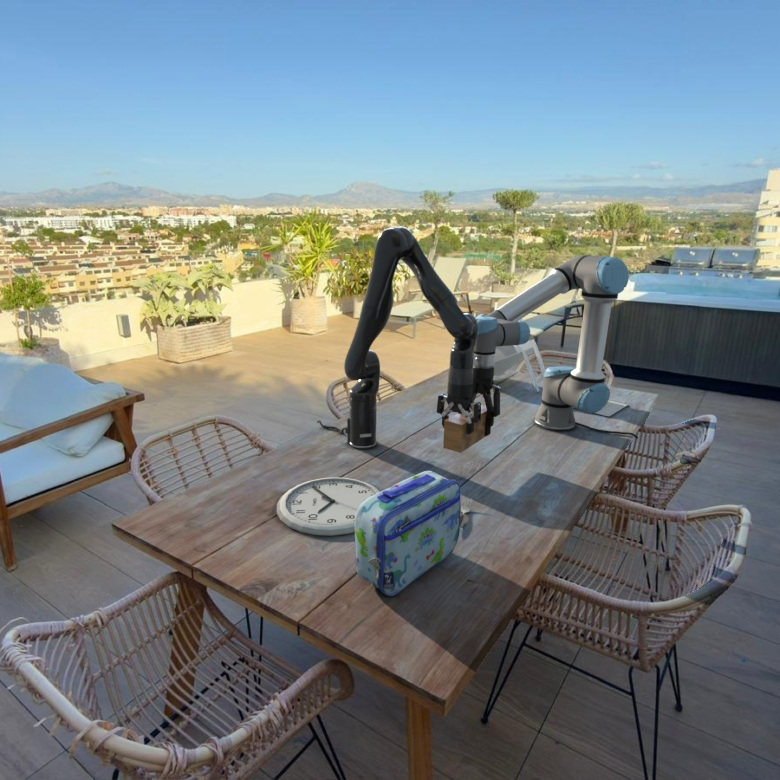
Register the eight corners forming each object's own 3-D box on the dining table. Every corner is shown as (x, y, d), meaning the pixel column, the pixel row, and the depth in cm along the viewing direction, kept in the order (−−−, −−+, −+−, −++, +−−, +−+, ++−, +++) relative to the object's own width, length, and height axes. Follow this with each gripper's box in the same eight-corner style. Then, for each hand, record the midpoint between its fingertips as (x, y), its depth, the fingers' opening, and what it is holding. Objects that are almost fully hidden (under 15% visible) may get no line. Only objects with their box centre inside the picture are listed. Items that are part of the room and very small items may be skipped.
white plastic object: (484, 420, 263) (463, 398, 239) (465, 347, 285) (445, 319, 261) (556, 396, 251) (542, 370, 226) (530, 322, 273) (515, 290, 248)
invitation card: (608, 416, 214) (573, 407, 224) (608, 416, 214) (573, 408, 224) (628, 404, 229) (594, 396, 238) (628, 405, 229) (594, 397, 238)
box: (473, 429, 179) (475, 403, 176) (490, 433, 175) (492, 407, 173) (443, 447, 164) (444, 420, 161) (460, 453, 160) (462, 424, 157)
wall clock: (392, 527, 129) (268, 531, 127) (391, 533, 130) (269, 537, 127) (383, 473, 158) (282, 475, 155) (383, 478, 158) (282, 480, 156)
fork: (449, 533, 130) (450, 526, 130) (463, 503, 145) (463, 496, 144) (459, 535, 129) (460, 528, 129) (472, 505, 144) (473, 498, 143)
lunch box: (383, 609, 104) (384, 516, 98) (348, 583, 111) (347, 495, 105) (463, 555, 122) (469, 473, 115) (429, 536, 129) (432, 458, 123)
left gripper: (433, 378, 159) (431, 428, 164) (475, 387, 151) (471, 439, 156) (446, 373, 165) (443, 421, 169) (487, 382, 156) (483, 432, 161)
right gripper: (450, 363, 170) (447, 428, 177) (505, 373, 159) (499, 442, 166) (461, 358, 176) (458, 422, 183) (515, 368, 165) (509, 435, 172)
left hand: (457, 430), depth 162 cm, fingers open, 8 cm apart
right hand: (478, 432), depth 175 cm, fingers closed on box, 6 cm apart
